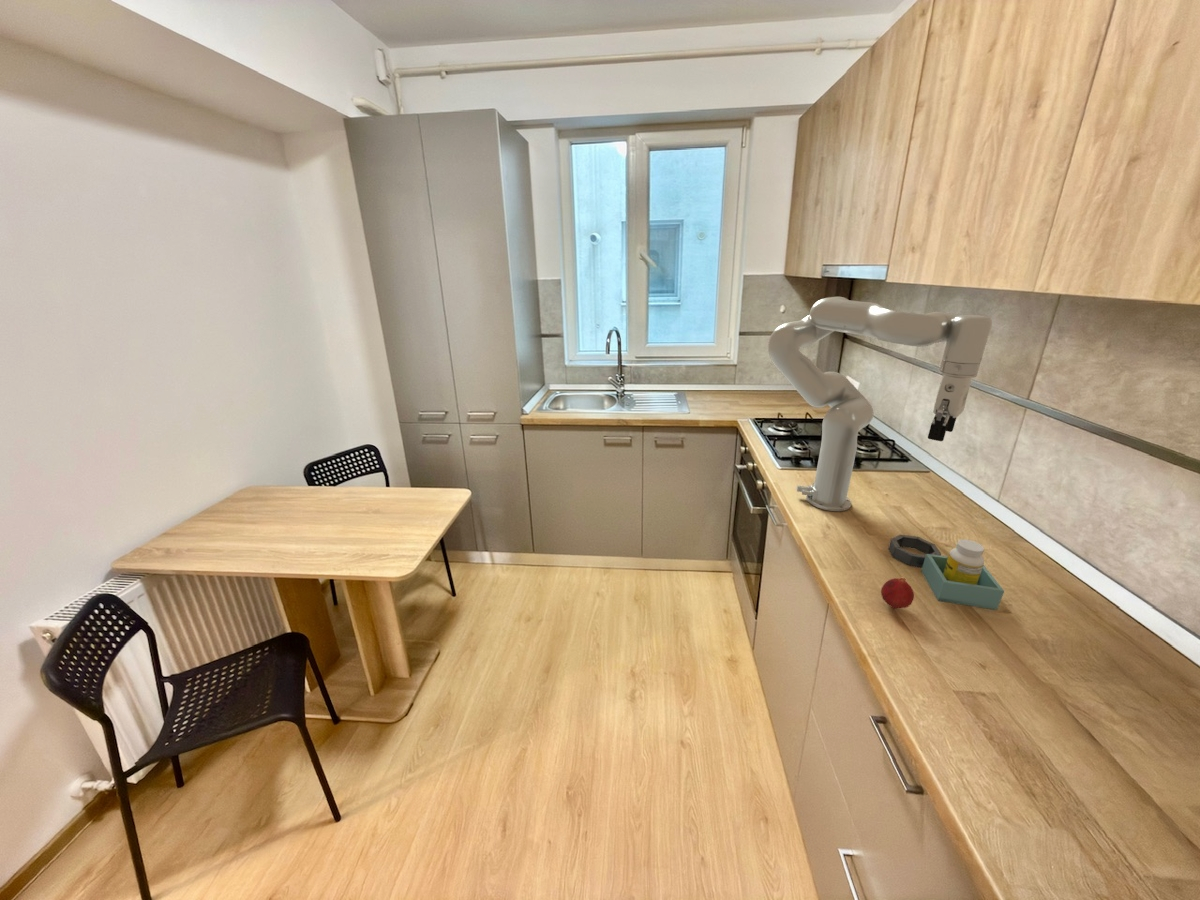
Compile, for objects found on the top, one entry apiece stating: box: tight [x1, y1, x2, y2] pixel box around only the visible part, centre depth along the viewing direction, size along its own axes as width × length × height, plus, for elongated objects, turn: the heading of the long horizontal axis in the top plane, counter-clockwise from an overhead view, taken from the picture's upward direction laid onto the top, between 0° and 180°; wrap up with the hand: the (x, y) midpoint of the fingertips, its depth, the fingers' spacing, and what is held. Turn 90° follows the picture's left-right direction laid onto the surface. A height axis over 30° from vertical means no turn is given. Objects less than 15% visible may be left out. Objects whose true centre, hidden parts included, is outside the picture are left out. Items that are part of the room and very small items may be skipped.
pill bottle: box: [943, 538, 985, 585], centre depth 104 cm, size 6×6×11 cm
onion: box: [880, 576, 915, 610], centre depth 99 cm, size 6×6×8 cm
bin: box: [920, 554, 1005, 611], centre depth 105 cm, size 11×11×5 cm
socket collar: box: [887, 533, 942, 569], centre depth 118 cm, size 10×10×3 cm
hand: (940, 435), depth 119 cm, fingers open, 9 cm apart
